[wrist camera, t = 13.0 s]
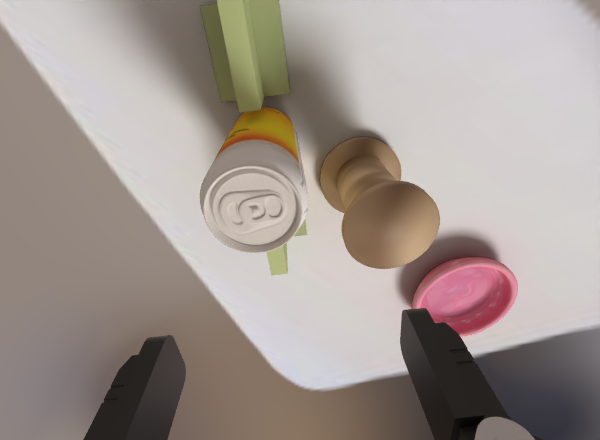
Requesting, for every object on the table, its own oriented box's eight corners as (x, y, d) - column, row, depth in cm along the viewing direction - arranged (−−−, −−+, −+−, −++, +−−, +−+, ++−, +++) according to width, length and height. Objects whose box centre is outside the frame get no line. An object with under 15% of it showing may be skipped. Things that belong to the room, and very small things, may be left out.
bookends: (278, -4, 25) (277, -19, 19) (306, 230, 35) (311, 270, 29) (201, 6, 25) (176, -6, 19) (252, 237, 35) (247, 278, 29)
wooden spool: (399, 131, 30) (453, 171, 21) (396, 205, 34) (440, 267, 25) (316, 142, 30) (333, 186, 21) (322, 214, 34) (339, 279, 25)
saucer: (472, 326, 45) (485, 345, 42) (391, 314, 43) (398, 333, 40) (522, 255, 39) (540, 271, 36) (431, 238, 37) (443, 253, 34)
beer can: (224, 112, 29) (177, 170, 16) (290, 99, 28) (298, 147, 15) (242, 174, 32) (215, 267, 19) (302, 162, 31) (318, 248, 18)
